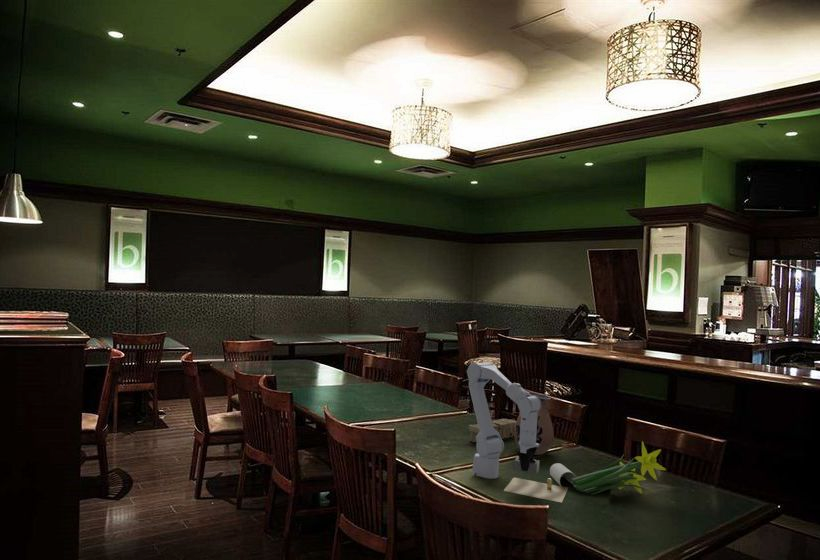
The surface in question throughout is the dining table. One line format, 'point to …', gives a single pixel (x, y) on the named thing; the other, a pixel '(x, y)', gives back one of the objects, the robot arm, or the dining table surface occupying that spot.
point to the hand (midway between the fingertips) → (526, 468)
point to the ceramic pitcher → (540, 427)
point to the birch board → (536, 489)
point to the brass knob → (549, 483)
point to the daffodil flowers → (619, 474)
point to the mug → (561, 473)
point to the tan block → (501, 425)
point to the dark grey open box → (532, 466)
